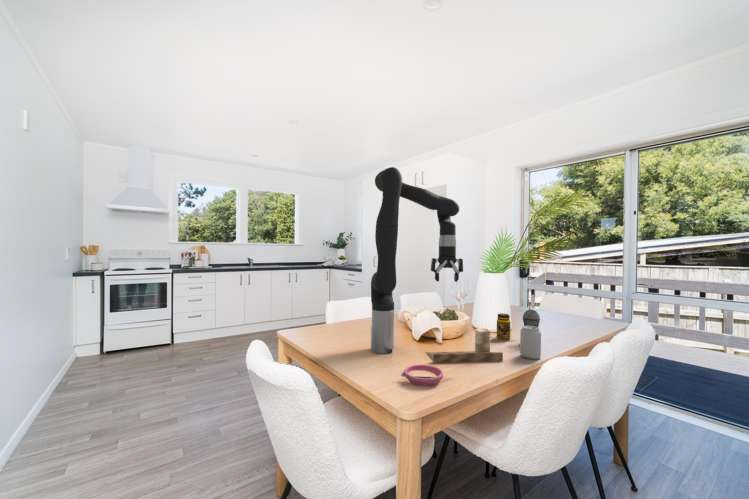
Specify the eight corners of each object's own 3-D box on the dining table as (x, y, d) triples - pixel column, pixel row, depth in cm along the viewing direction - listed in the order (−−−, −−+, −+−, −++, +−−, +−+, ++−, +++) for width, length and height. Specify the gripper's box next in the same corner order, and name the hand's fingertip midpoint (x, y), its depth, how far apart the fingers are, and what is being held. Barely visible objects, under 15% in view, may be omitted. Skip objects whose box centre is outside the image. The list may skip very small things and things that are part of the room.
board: (434, 367, 117) (434, 354, 117) (425, 356, 129) (425, 344, 129) (502, 365, 120) (502, 352, 120) (487, 354, 132) (487, 343, 132)
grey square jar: (544, 360, 126) (544, 329, 126) (525, 359, 127) (525, 329, 127) (535, 354, 134) (535, 324, 134) (517, 353, 134) (517, 324, 134)
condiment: (503, 342, 151) (503, 316, 151) (489, 337, 159) (490, 312, 159) (514, 340, 154) (515, 315, 154) (501, 336, 162) (501, 311, 162)
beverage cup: (542, 346, 145) (543, 301, 145) (526, 346, 145) (527, 301, 145) (535, 341, 152) (535, 298, 152) (519, 341, 152) (520, 298, 152)
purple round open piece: (396, 381, 105) (396, 371, 105) (417, 370, 114) (418, 361, 114) (429, 392, 97) (430, 382, 97) (450, 380, 106) (450, 370, 106)
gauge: (479, 359, 122) (480, 332, 122) (475, 353, 128) (475, 328, 128) (491, 360, 121) (492, 333, 121) (486, 354, 128) (486, 328, 128)
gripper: (434, 245, 142) (433, 282, 142) (465, 245, 144) (465, 282, 144) (429, 245, 150) (429, 280, 150) (459, 245, 151) (458, 280, 151)
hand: (446, 281), depth 147 cm, fingers open, 8 cm apart
